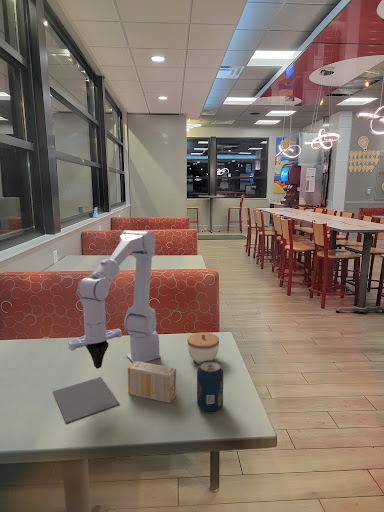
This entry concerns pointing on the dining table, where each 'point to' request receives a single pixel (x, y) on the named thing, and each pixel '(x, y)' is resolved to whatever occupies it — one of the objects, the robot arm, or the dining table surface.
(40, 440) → the dining table surface
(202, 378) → the soda can
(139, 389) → the supplement box
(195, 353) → the lidded jar
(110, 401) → the mat
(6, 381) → the dining table surface
